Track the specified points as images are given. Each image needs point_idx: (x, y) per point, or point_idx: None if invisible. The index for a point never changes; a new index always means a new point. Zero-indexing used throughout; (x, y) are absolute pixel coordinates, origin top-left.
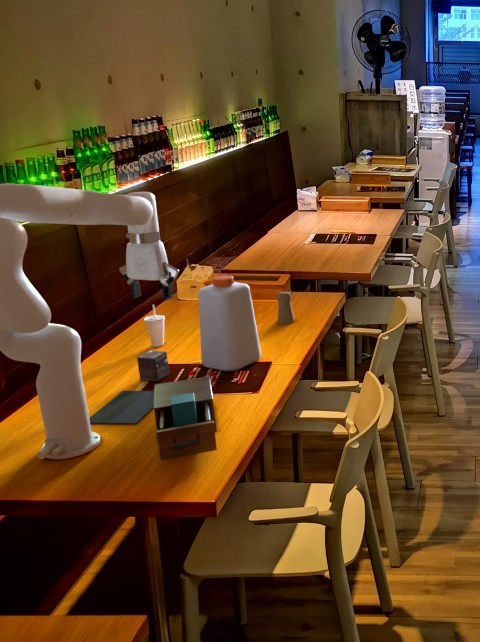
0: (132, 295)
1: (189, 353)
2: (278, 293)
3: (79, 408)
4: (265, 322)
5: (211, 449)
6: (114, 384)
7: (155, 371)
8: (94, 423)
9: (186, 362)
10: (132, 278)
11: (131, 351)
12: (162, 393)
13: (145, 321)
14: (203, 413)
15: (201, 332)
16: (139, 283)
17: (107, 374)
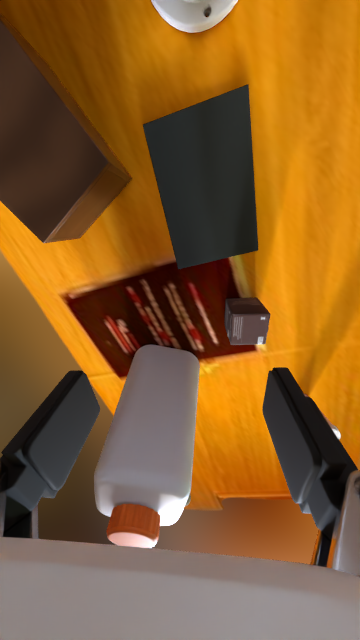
0: (287, 380)
1: (239, 383)
2: (187, 502)
3: None
4: (203, 457)
5: None
6: (291, 273)
7: (229, 304)
8: (223, 94)
9: (225, 360)
10: (341, 593)
11: (329, 377)
12: (46, 110)
13: (333, 427)
14: None
15: (186, 391)
16: (292, 496)
17: (324, 304)
